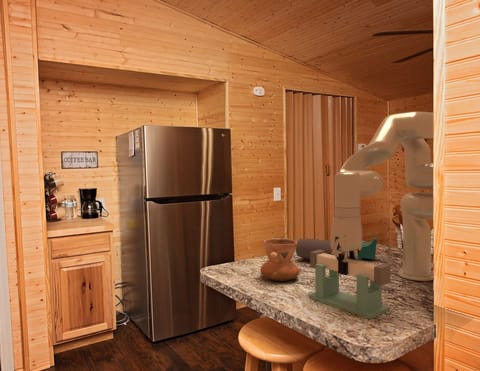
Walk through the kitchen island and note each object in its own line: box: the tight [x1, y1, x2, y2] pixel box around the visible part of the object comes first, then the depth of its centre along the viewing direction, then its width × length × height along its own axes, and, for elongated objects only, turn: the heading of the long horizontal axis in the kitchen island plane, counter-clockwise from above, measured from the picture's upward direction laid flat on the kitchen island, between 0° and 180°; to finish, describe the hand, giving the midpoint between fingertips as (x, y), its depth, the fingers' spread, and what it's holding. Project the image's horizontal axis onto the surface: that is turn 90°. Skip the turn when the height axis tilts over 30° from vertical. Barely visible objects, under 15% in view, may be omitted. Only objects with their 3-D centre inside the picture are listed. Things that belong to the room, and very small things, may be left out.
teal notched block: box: [356, 236, 378, 262], centre depth 170 cm, size 18×11×10 cm, turn 164°
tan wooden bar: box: [309, 250, 391, 287], centre depth 111 cm, size 5×25×5 cm, turn 38°
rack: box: [308, 264, 391, 320], centre depth 112 cm, size 10×22×11 cm, turn 38°
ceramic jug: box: [260, 237, 300, 282], centre depth 138 cm, size 18×14×14 cm
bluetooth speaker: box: [295, 238, 352, 260], centre depth 159 cm, size 23×9×10 cm, turn 53°
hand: (347, 272), depth 111 cm, fingers closed on tan wooden bar, 3 cm apart
